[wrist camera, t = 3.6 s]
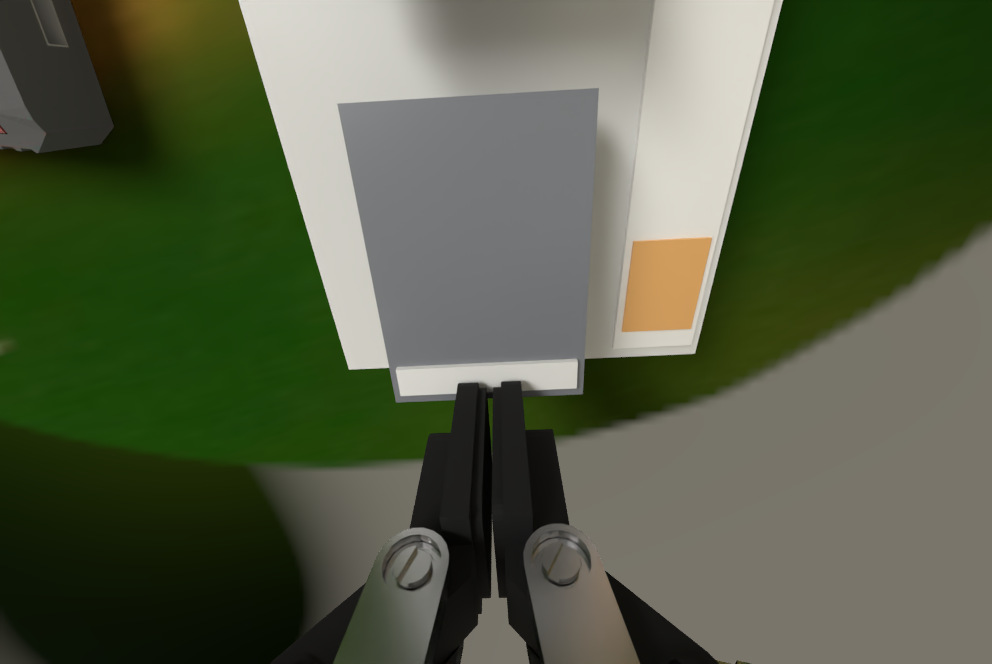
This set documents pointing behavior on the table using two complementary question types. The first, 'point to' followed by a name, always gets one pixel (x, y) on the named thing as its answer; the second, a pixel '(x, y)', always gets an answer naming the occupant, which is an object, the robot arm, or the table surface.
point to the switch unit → (533, 68)
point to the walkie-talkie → (47, 80)
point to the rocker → (478, 236)
